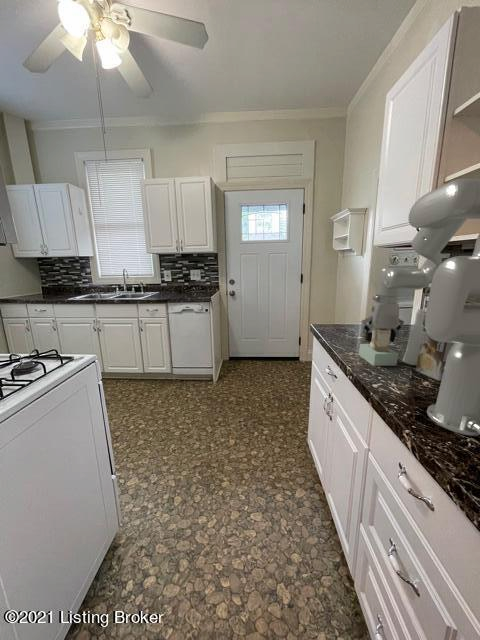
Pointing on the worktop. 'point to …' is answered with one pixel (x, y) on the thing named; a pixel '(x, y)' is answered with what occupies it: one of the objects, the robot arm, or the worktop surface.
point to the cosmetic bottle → (415, 339)
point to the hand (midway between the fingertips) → (379, 340)
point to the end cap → (378, 356)
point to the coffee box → (432, 357)
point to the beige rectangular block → (380, 340)
